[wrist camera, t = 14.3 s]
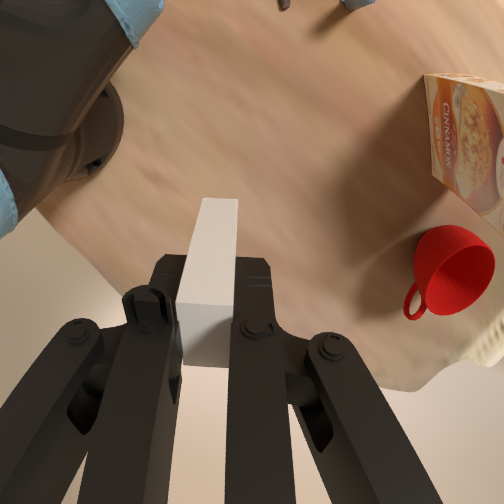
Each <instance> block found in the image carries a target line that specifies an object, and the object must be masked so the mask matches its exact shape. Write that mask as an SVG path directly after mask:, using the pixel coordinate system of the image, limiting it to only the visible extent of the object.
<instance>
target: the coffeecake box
mask: <svg viewBox="0 0 504 504" xmlns="http://www.w3.org/2000/svg"><path fill="white" fill-rule="evenodd" d="M424 82H425V90H426V98H427V107H428V116H429V128H430V141H431V160H432V175H433V176H434V177H435V178H437V179H438V180H439V181H440V182H442V183H443V184H444V185H445V186H447V187H448V188H449V189H450V190H451V191H453V192H454V193H455V194H456V195H457V196H459V197H460V198H461V199H462V200H463V201H464V202H465V203H467V204H468V205H469V206H470V207H471V208H472V209H473V210H475V211H476V212H477V213H478V214H479V215H480V216H481V217H482V218H483V219H484V220H485V221H486V222H487V223H488V224H490V225H491V226H492V227H493V228H494V229H495V230H496V231H497V232H498V233H499V234H500V235H501V236H502V237H503V238H504V84H503V83H499V82H495V81H491V80H487V79H483V78H480V77H476V76H471V75H466V74H455V73H443V74H424Z"/></svg>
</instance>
